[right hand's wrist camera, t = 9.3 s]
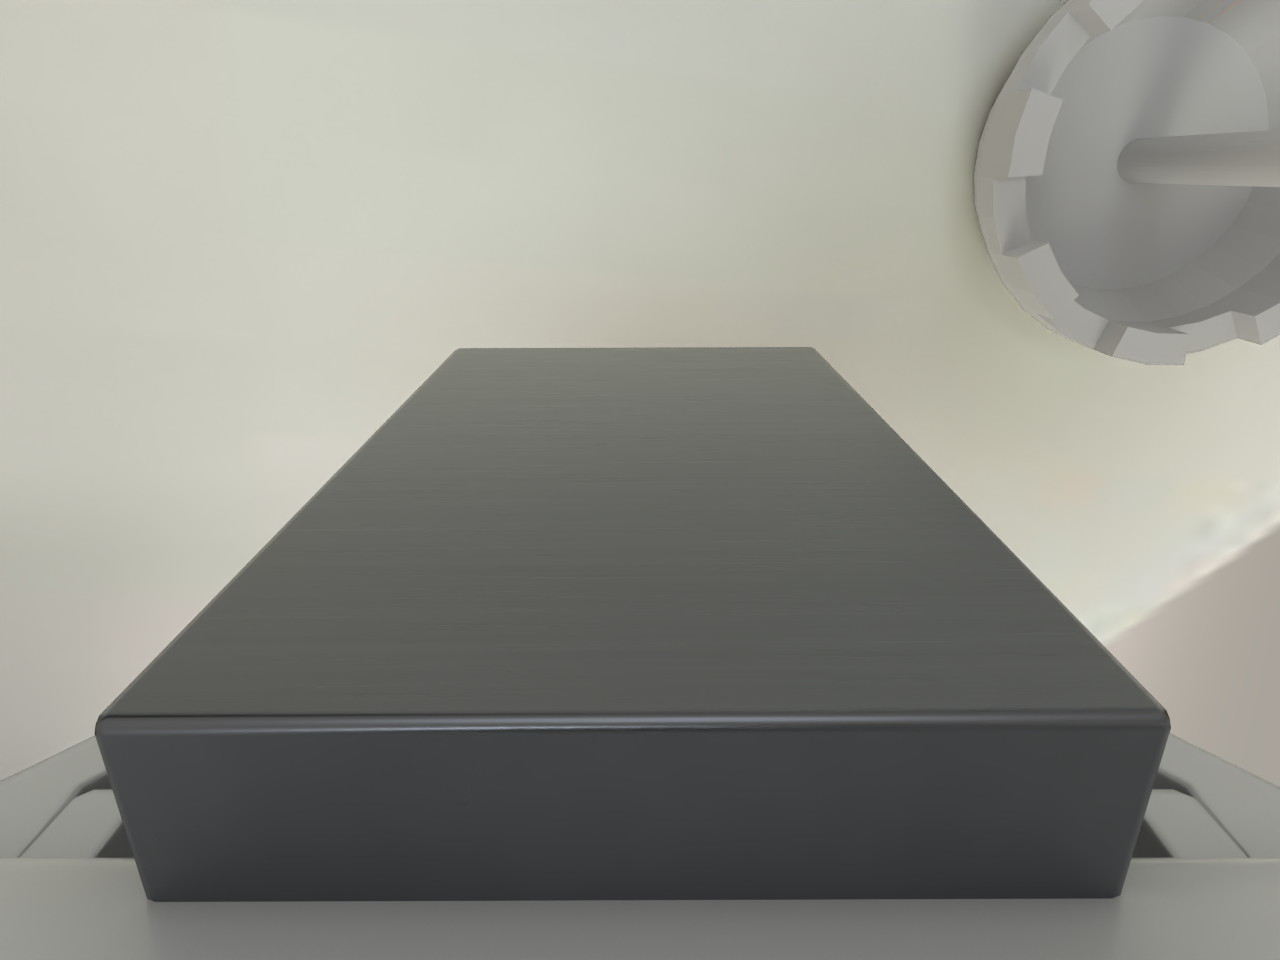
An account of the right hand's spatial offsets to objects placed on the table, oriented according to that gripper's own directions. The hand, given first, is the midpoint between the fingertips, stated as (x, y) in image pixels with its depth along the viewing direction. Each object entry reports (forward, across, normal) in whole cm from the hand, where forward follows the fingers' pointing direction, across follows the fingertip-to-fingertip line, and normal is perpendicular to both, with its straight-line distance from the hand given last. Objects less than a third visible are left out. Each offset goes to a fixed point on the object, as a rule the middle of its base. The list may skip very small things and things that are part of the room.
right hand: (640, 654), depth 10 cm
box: (+4, 0, -9) cm, 10 cm away
